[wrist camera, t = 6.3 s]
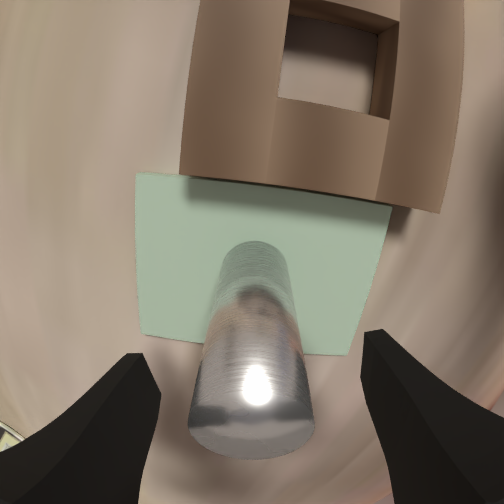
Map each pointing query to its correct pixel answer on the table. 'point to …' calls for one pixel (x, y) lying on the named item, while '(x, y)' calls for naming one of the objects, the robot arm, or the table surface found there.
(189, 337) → the sage mat
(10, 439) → the coffee can
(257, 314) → the steel peg
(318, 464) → the table surface
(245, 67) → the eye block
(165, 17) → the table surface
